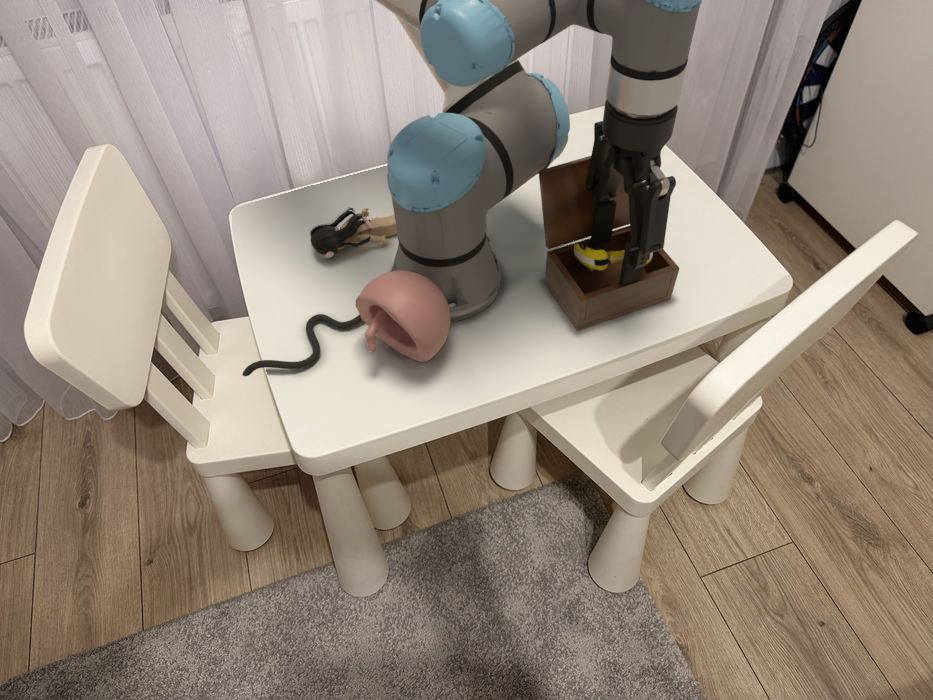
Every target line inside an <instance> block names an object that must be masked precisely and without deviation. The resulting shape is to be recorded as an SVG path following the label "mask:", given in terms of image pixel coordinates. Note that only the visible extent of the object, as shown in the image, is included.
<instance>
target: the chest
mask: <svg viewBox="0 0 933 700" xmlns="http://www.w3.org/2000/svg"><path fill="white" fill-rule="evenodd" d="M590 241H591V237H588V238H584V239H581V240H578V241H575V242H572V243H568V244H565V245H562V246H559V247H556V248H553V249H549V250H548V251H546V260H545V272H544V273H545V274H544V283H545V285H546V287H547V288H548V289H549V291H550V292H551V293H552V295H553V297H554V299H555V300H556V301H557V303H558V304H559V306H560V307H561V310H562V311H563V312H564V313H565V315H566V316H567V318H568V320H569V321H570V323H571V324H572V325H573V327H574V328H575V330H576V331H577V332H578V331H581V330H584V329H587V328H590V327H593V326H596V325H600V324H602V323H604V322H607V321H610V320H613V319H616V318H619V317H622V316H624V315H628V314H631V313H634V312H637V311H640V310H642V309H645V308H649V307H650V306H653V305H656V304H659V303H662V302H665V301H668V300H671V299H672V296H673V292H674V290H675V286H676V282H677V278H678V275H679V273H680V272H679V271H680V266H679V265H678V264H677V263H676V262H675V261H674V260H673V259H672V257H671V256H670V255H669V254H668V253H667V252H666V250H665V249H664V248H663V249H662V250H659V251H656V252H653V257H652V259H651V261H650V262H649V263H648V264H646V265H645V266H644V267H643V271H642V276H641V279H639V280H636V281H633V282H630V283H627V284H624V285H622V284H621V283H620V282H619V280H620V274H621V269H622V263H623V262H621V263H611V262H610V261H609V260H608V266H607V268H606V269H604V270H599V271H598V272H596V271H595V272H592V271H591V270H590V269H589V267H587V266H585V265H584V264H582V263H581V262H580V261H579V260H578V259H577V257H576V256H575V254H574V244H580V243H584V244H585V245H586V247H588V248H591V249H593V250H604V251H606V252H610V251H621V250H625V247H626V243H627V242H631V233H630V225H626V226H623V227H619V228H616V229H613V230H612V236H611V242H608V243H605V244H601V245H598V246H595V247H592V246H591V244H590Z"/></svg>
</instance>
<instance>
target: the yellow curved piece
mask: <svg viewBox="0 0 933 700" xmlns="http://www.w3.org/2000/svg"><path fill="white" fill-rule="evenodd" d="M624 252H625V250H621V251H610V252H606V251H604V250H593V249H591V248H588V247H586V245H585V244H584V243H580V244H574V254H575V256H576V257H577V259H578V260H579V261H580V262H581V263H582V264H584V265H585V266H587V267H589V269H590V270H591V271H592V272H595V271H596V272H598V271H599V270H604V269H606V268H607V266H608V260H609V261H610V262H611V263H621V262H623V258H624ZM652 257H653V253H650V254H648V258H647V262H646V264H648V263H649V262H650V261H651V259H652Z"/></svg>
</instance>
